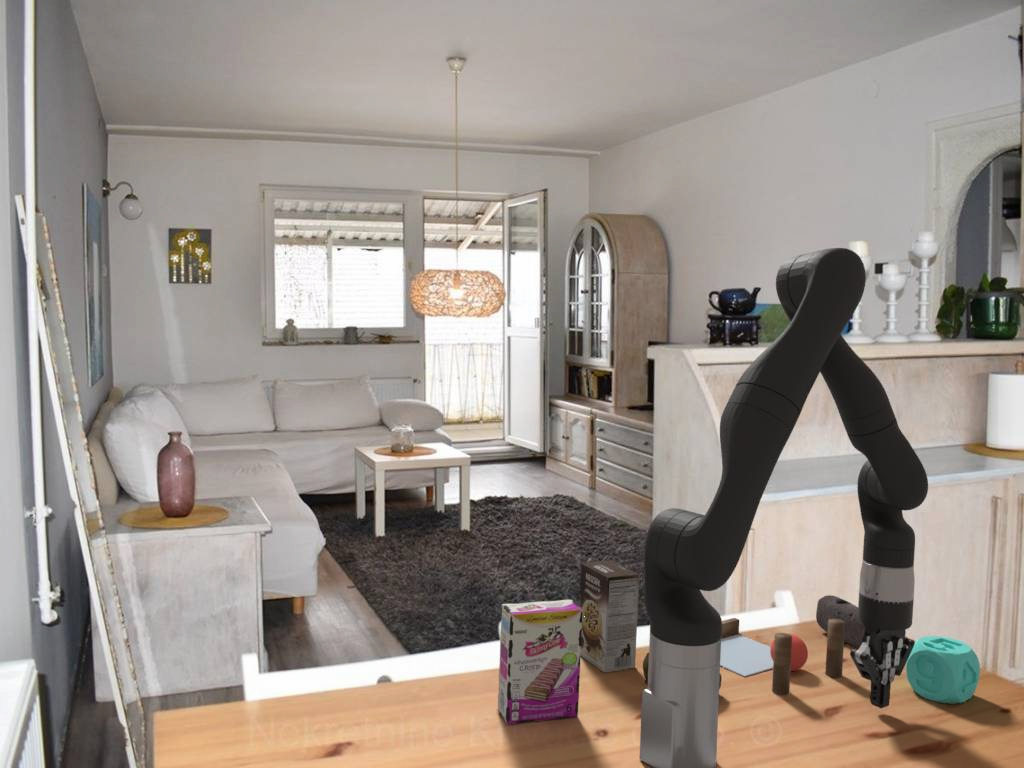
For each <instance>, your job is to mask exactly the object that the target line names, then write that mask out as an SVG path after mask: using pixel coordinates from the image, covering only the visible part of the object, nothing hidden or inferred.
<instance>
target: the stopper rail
mask: <svg viewBox="0 0 1024 768" xmlns="http://www.w3.org/2000/svg"><path fill="white" fill-rule="evenodd" d="M739 633H740V618H739V619H738V618H736V617H733V618H732V617H731V618H729V619H724V620H722V635H721V638H725V637H730V636H734V635H738V634H739ZM724 636H725V637H724Z"/></svg>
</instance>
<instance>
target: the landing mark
mask: <svg viewBox="0 0 1024 768" xmlns="http://www.w3.org/2000/svg"><path fill="white" fill-rule="evenodd" d="M770 648H771V646H770V645H767V644H764V643H762V642H759V641H757V640H754V639H751V638H750V637H746V636H744V635H742V634H739V633H737V634H733V635H729V636H725V637H722V638H721V656H720V667H721V666H722V667H721V668H723V667H724V668H723V669H726V670H728V671H731V672H733V673H734V672H735V674H737V675H739V674H740V675H739V676H741V675H742V677H743V676H744V677H743V678H745V677H748V676H749V677H750V676H752V675H755V674H759V673H762V672H767V671H769V670H773V660H772V658H771V654H770Z"/></svg>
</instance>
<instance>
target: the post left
mask: <svg viewBox="0 0 1024 768" xmlns="http://www.w3.org/2000/svg"><path fill="white" fill-rule="evenodd" d="M789 634H790V633H785V632H777V633H774V640H775V641H774V640H773V641H774V662H773V669H772V683H771V684H772V686H771V691H772V693H773V694H775V695H779V696H787V695H790V686H791V684H790V683H791V671H790V669H791V649H792V636H791V635H789Z"/></svg>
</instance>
